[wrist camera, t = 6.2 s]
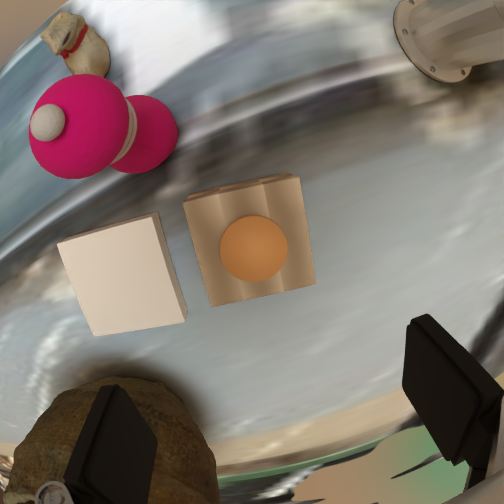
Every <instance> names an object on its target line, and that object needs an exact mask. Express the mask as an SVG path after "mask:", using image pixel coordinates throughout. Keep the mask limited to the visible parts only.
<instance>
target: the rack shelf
mask: <svg viewBox="0 0 504 504" xmlns="http://www.w3.org/2000/svg"><path fill="white" fill-rule="evenodd" d="M57 246H58V249H59V252H60V255H61V258H62V261H63V263H64V266H65V269H66V271H67V274H68V277H69V279H70V282H71V284H72V287H73V289H74V292H75V294H76V297H77V299H78V302H79V304H80V306H81V309H82V311H83V313H84V315H85V318H86V320H87V322H88V324H89V326H90V328H91V330H92V333H93V335H94V337H95V336H102V335H109V334H116V333H123V332H129V331H136V330H142V329H148V328H154V327H160V326H166V325H172V324H177V323H183V322H185V320H186V316H187V312H188V311H187V308H186V305H185V302H184V299H183V296H182V293H181V290H180V286H179V283H178V280H177V277H176V274H175V271H174V267H173V264H172V261H171V258H170V254H169V251H168V247H167V244H166V241H165V237H164V234H163V230H162V226H161V223H160V219H159V216H158V212H155V213H151V214H147V215H144V216H140V217H136V218H132V219H129V220H125V221H122V222H118V223H115V224H111V225H108V226H104V227H101V228H97V229H94V230H91V231H87V232H84V233H81V234H77V235H74V236H71V237H68V238H66V239H64V240H62V241H61V242H59V243H58V244H57Z"/></svg>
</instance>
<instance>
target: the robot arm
mask: <svg viewBox="0 0 504 504" xmlns="http://www.w3.org/2000/svg"><path fill="white" fill-rule="evenodd" d="M394 25H395V30H396V34H397V37H398V39H399V42H400V44H401V46H402V47H403V49H404V51H405V53H406V54H407V55H408V57H409V58H410V59H411V61H412V62H413V63H414V64H415V65H416V66H417V67H418V68H419V69H420V70H421V71H423V72H424V73H425V74H426V75H428V76H430V77H431V78H433V79H435V80H437V81H440V82H444V83H454V82H458V81H461V80H463V79H465V78H466V77H467V76H468V75H469V73H470V71H471V68H472V66H475V65H479V64H484V63H489V62H494V61H499V60H504V0H403V1H401V2H400V3H399V5H398V6H397V8H396V10H395V14H394ZM402 387H403V390H404V392H405V394H406V396H407V397H408V399H409V400H410V402H411V404H412V405H413V407H414V408H415V410H416V412H417V413H418V415H419V417H420V418H421V420H422V421H423V423H424V425H425V426H426V428H427V430H428V431H429V433H430V435H431V436H432V438H433V440H434V442H435V443H436V445H437V447H438V448H439V450H440V452H441V453H442V455H443V457H444V458H445V460H447V461H450V460H451V462H452V464H453V465H454V466H455V465H457V464H459V463H461V462H462V461H464V460H466V462H467V463H468V465H469V467H470V468H469V472H468V476H467V479H466V483H465V487H464V490H463V493H462V494H459V495H458V496H456V497H454V498H452V499H450V500H448V501H446V502H444V503H442V504H504V390H503V389H502V388H501V387H500V385H499V384H498V383H497V382H496V381H495V380H494V379H493V378H492V377H491V376H490V374H489V373H488V372H487V371H486V370H485V369H484V368H483V367H482V366H481V365H480V364H479V363H478V362H477V361H476V360H475V359H474V358H473V357H472V355H471V354H470V353H469V352H468V351H467V350H466V349H465V348H464V347H463V346H462V345H460V344H459V343H458V342H457V341H456V340H455V339H454V338H453V337H452V336H451V335H450V334H449V333H448V332H447V331H446V330H445V329H444V328H443V327H442V326H441V325H440V324H439V323H438V322H437V321H436V320H435V319H434V318H433V317H432V316H431V315H429V314H424V315H421V316H419V317H416V318H413V319H412V320H411V322H410V325H408V326H407V329H406V345H405V358H404V369H403V378H402ZM157 446H158V441H157V437H156V435H155V434H154V433H153V431H152V430H151V428H150V427H149V425H148V424H147V422H146V421H145V420H144V418H143V417H142V415H141V414H140V412H139V411H138V409H137V407H136V406H135V404H134V403H133V401H132V400H131V398H130V396H129V395H128V393H127V392H126V390H125V389H124V388H121V387H120V386H119V385H118V384H113V385H103V386H101V387H100V389H99V391H98V393H97V395H96V398H95V400H94V402H93V404H92V407H91V409H90V411H89V413H88V416H87V418H86V420H85V423H84V425H83V427H82V430H81V432H80V435H79V437H78V440H77V442H76V444H75V447H74V449H73V452H72V454H71V457H70V460H69V462H68V465H67V467H66V470H65V473H64V475H63V479H64V480H65V482H64V484H62V483H61V482H58V481H50V482H47V483H45V484H43V485H42V486H41V487H40V488H39V489H38V491H37V493H36V495H35V504H148V498H149V492H150V485H151V480H152V474H153V468H154V462H155V457H156V452H157Z"/></svg>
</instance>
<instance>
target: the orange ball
mask: <svg viewBox="0 0 504 504" xmlns="http://www.w3.org/2000/svg"><path fill="white" fill-rule="evenodd" d="M287 253H288V245H287V240H286V237H285V235H284V233H283V232H282V230H281V229H280V227H279V226H278V225H277V224H276V223H275V222H274V221H272V220H271V219H269V218H267V217H264V216H260V215H247V216H243V217H241V218H238V219H237V220H235V221H234V222H232V223H231V224H230V225H229V226H228V227H227V229H226V230H225V232H224V233H223V236H222V239H221V245H220V256H221V260H222V263H223V265H224V266H225V268H226V269H227V271H228V272H229V273H230V274H232V275H233V276H234V277H236V278H238V279H240V280H243V281H247V282H259V281H264V280H266V279H269V278H271V277H272V276H274V275H275V274H276V273H277V272H278V271H279V270H280V269H281V268H282V266H283V265H284V263H285V261H286V258H287Z"/></svg>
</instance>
